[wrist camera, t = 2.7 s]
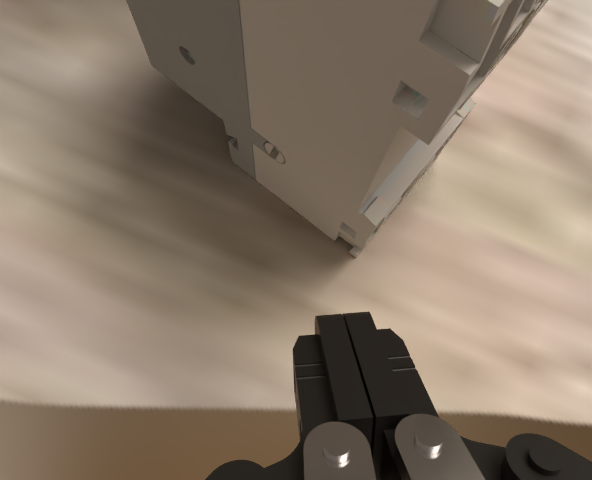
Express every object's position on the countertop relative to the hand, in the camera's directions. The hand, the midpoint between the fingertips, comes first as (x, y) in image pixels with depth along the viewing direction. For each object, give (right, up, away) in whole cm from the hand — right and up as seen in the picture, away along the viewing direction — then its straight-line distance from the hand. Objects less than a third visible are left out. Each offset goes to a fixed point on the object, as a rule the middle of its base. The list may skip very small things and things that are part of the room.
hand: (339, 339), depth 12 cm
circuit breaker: (-1, +9, +12) cm, 15 cm away
